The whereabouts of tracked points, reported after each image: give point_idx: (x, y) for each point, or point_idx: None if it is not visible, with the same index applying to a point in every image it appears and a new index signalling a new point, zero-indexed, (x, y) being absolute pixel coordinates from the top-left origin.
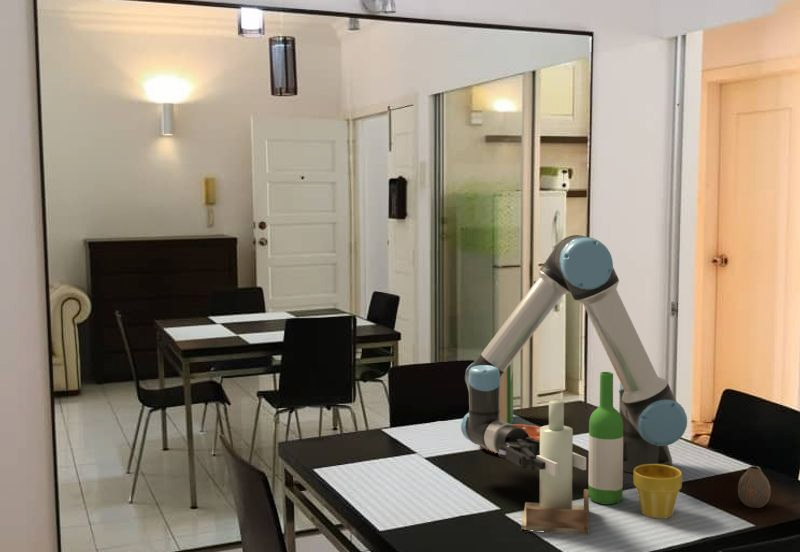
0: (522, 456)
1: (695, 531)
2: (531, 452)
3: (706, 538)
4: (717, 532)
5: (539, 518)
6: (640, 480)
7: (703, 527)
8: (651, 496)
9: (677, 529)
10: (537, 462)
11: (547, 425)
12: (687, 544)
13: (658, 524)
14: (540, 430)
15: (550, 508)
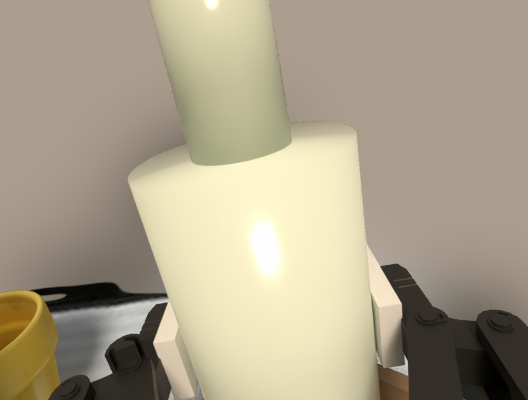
0: (512, 322)
1: (93, 326)
2: (410, 383)
3: (114, 302)
4: (73, 315)
5: None
6: (39, 337)
7: (62, 336)
8: (54, 354)
9: (104, 342)
10: (413, 282)
11: (227, 183)
12: (161, 293)
13: (101, 373)
14: (355, 144)
15: (380, 375)
